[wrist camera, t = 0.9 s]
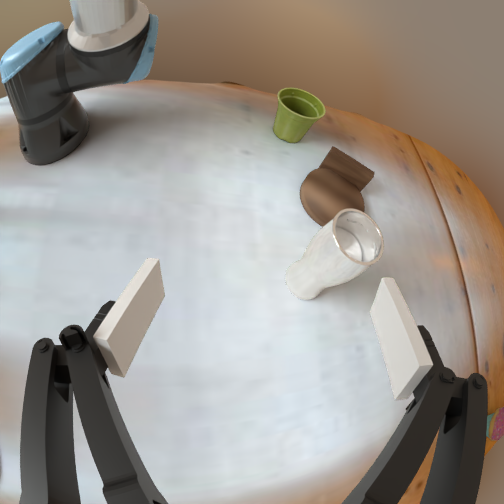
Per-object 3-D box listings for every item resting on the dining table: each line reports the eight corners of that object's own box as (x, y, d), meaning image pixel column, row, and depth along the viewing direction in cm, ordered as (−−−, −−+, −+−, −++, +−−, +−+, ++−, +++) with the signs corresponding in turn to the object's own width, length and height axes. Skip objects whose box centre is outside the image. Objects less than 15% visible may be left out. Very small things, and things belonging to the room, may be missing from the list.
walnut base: (350, 243, 46) (370, 227, 40) (290, 207, 46) (303, 186, 40) (364, 194, 51) (380, 176, 46) (312, 162, 51) (325, 141, 46)
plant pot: (317, 145, 54) (335, 115, 46) (281, 153, 50) (297, 120, 43) (292, 116, 56) (306, 86, 48) (256, 122, 52) (268, 89, 45)
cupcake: (475, 447, 34) (515, 446, 24) (476, 417, 38) (517, 413, 27) (491, 431, 37) (528, 428, 26) (492, 402, 40) (529, 397, 29)
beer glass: (273, 285, 39) (320, 239, 26) (295, 249, 43) (343, 195, 29) (312, 312, 39) (375, 280, 26) (331, 275, 42) (391, 231, 29)
